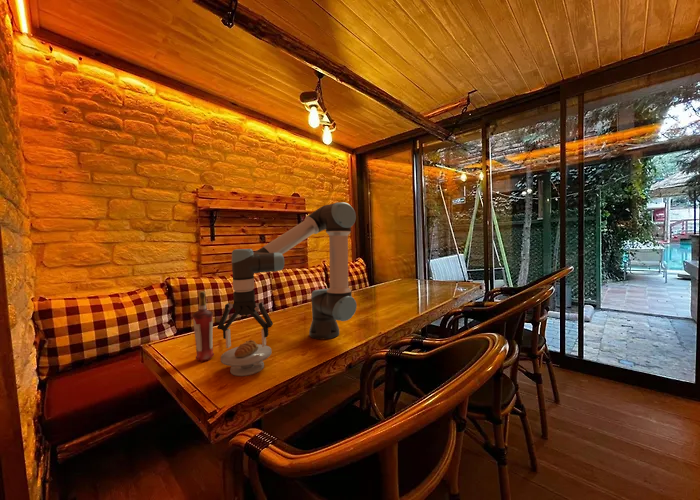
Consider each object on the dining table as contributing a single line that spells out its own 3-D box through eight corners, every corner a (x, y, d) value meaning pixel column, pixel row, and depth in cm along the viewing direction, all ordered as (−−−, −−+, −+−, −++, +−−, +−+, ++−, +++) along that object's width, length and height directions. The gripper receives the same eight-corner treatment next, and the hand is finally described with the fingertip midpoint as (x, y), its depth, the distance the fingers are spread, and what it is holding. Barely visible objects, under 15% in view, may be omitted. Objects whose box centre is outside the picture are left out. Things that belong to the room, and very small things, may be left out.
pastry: (246, 359, 103) (245, 349, 103) (229, 358, 104) (228, 348, 104) (259, 349, 112) (259, 339, 112) (244, 348, 113) (243, 339, 113)
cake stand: (276, 357, 118) (276, 343, 118) (265, 379, 100) (264, 362, 100) (232, 359, 118) (231, 345, 117) (212, 381, 100) (211, 364, 100)
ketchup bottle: (193, 358, 120) (190, 292, 119) (212, 353, 125) (209, 289, 123) (196, 364, 114) (193, 294, 113) (216, 359, 119) (213, 291, 118)
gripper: (279, 287, 112) (281, 341, 113) (215, 289, 111) (217, 343, 112) (274, 290, 104) (277, 348, 105) (205, 293, 104) (208, 351, 105)
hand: (246, 346), depth 109 cm, fingers open, 13 cm apart
